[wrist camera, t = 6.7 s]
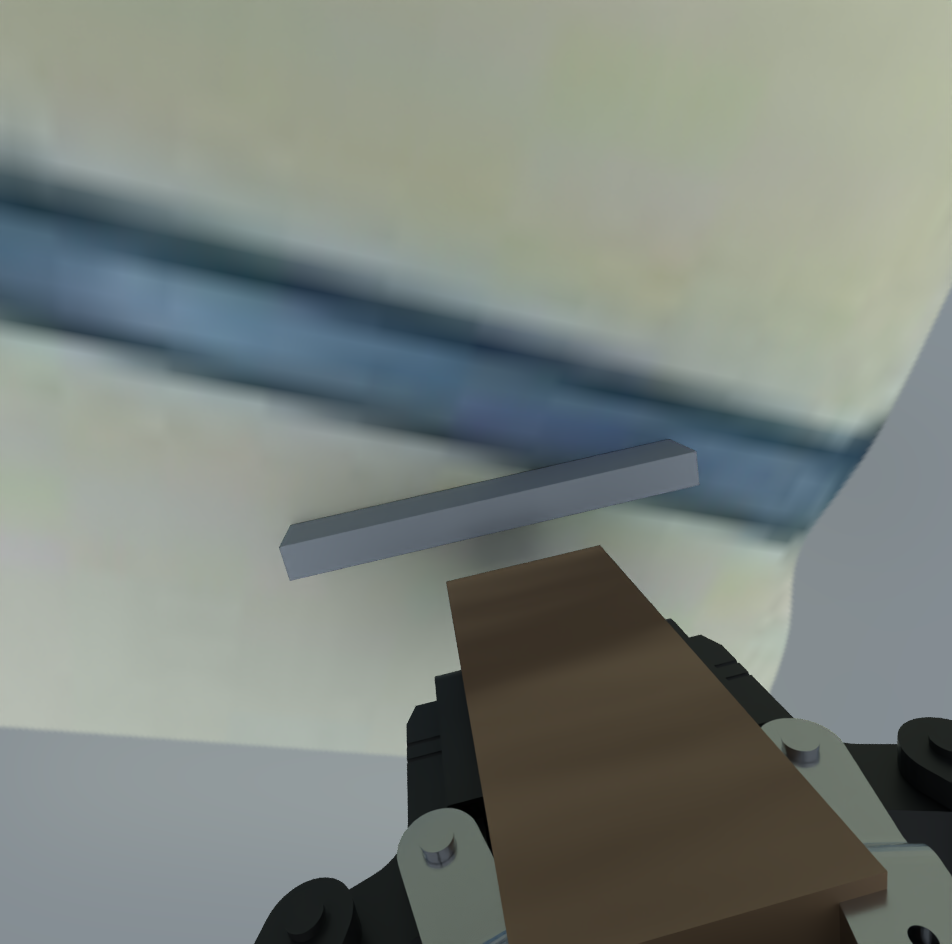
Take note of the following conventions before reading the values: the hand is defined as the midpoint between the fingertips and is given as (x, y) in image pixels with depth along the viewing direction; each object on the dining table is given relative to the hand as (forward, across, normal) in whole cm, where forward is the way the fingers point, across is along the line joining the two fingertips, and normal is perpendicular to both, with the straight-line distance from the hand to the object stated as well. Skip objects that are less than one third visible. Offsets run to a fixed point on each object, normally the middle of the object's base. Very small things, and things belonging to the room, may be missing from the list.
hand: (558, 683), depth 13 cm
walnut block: (+2, 0, 0) cm, 2 cm away
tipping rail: (+9, 0, -2) cm, 9 cm away
